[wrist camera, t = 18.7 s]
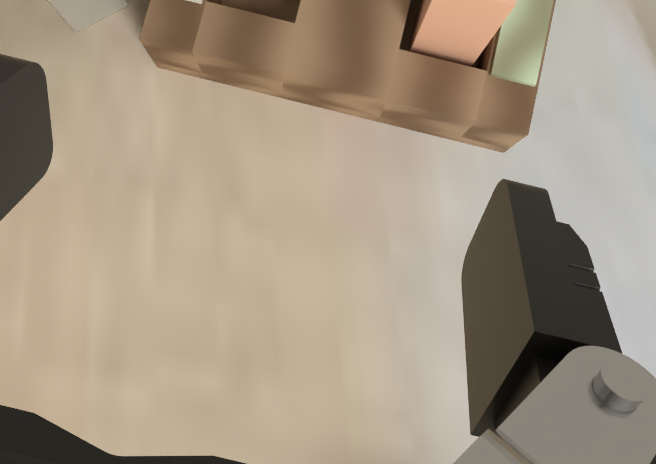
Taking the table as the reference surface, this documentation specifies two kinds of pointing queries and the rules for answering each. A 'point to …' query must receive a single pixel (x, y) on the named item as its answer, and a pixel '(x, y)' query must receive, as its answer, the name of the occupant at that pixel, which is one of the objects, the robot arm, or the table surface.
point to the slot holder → (359, 61)
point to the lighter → (86, 11)
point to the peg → (457, 28)
